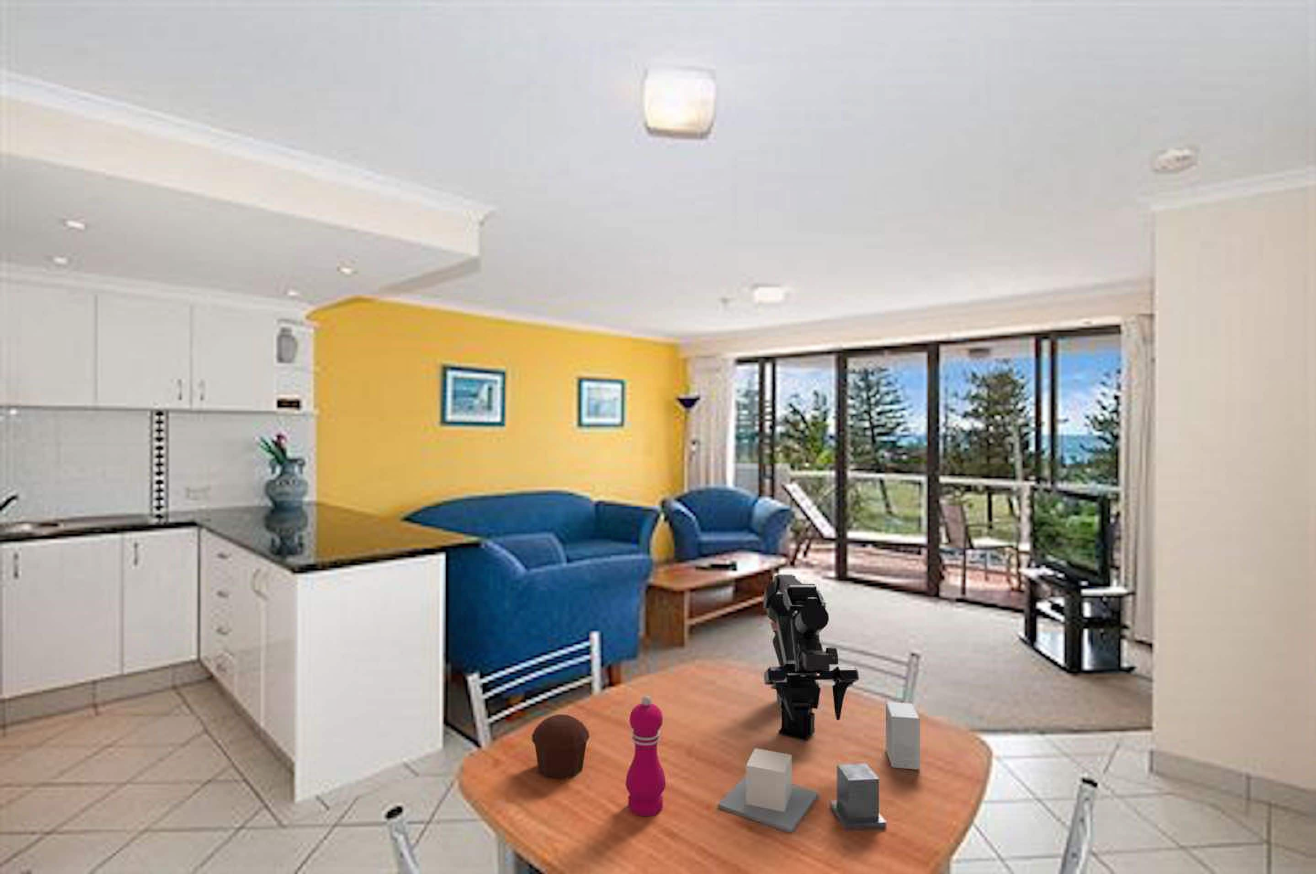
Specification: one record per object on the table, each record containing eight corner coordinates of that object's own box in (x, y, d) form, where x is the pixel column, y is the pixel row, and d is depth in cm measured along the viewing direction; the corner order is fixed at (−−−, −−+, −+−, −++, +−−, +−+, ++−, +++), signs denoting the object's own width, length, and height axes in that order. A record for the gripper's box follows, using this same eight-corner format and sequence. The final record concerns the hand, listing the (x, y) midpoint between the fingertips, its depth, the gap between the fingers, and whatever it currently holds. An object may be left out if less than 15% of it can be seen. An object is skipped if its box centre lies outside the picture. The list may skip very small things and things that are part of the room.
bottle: (797, 702, 164) (773, 625, 165) (784, 696, 170) (761, 622, 171) (820, 692, 166) (796, 616, 167) (806, 686, 172) (783, 613, 173)
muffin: (600, 763, 133) (600, 714, 133) (568, 788, 123) (568, 736, 123) (553, 750, 139) (553, 703, 139) (519, 773, 129) (519, 723, 129)
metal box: (830, 806, 118) (830, 762, 118) (868, 804, 119) (868, 760, 119) (845, 830, 111) (846, 783, 111) (886, 828, 111) (886, 781, 112)
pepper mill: (624, 796, 121) (625, 689, 121) (663, 795, 121) (664, 688, 121) (626, 819, 113) (627, 704, 114) (667, 817, 114) (668, 703, 114)
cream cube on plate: (754, 785, 124) (754, 748, 124) (791, 792, 121) (791, 754, 121) (745, 804, 117) (746, 765, 117) (784, 812, 115) (785, 772, 115)
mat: (717, 807, 117) (717, 804, 117) (750, 774, 129) (750, 771, 129) (791, 833, 110) (791, 829, 110) (818, 795, 122) (818, 792, 122)
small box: (920, 771, 131) (920, 718, 131) (890, 768, 132) (891, 716, 132) (912, 752, 139) (913, 703, 139) (885, 749, 140) (885, 700, 140)
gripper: (769, 633, 132) (777, 716, 125) (860, 632, 133) (873, 715, 125) (760, 644, 142) (767, 722, 134) (845, 644, 142) (856, 721, 135)
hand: (815, 720), depth 132 cm, fingers open, 9 cm apart
